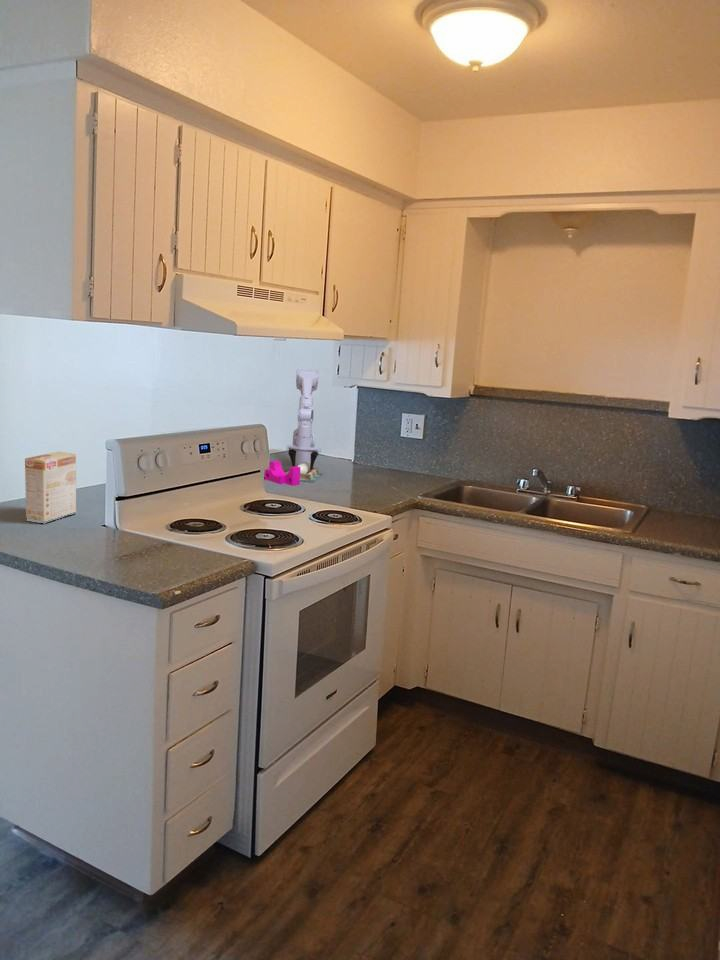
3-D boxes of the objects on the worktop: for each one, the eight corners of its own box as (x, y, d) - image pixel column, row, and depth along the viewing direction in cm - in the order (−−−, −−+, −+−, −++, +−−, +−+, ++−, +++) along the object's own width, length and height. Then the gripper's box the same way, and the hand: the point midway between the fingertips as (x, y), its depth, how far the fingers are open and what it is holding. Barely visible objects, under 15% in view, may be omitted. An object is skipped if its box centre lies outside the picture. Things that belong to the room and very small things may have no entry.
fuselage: (300, 473, 334) (299, 461, 334) (311, 473, 334) (310, 461, 333) (293, 478, 323) (293, 466, 322) (305, 478, 322) (304, 466, 321)
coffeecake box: (58, 511, 245) (58, 451, 241) (77, 514, 243) (77, 453, 239) (24, 521, 231) (23, 457, 227) (44, 524, 229) (43, 460, 225)
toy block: (264, 479, 317) (264, 461, 316) (275, 478, 322) (276, 460, 320) (287, 486, 307) (288, 468, 306) (299, 485, 312) (300, 467, 310)
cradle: (291, 471, 339) (292, 464, 338) (322, 474, 337) (323, 467, 336) (280, 479, 320) (280, 472, 319) (313, 482, 318) (313, 475, 317)
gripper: (285, 436, 322) (283, 468, 325) (319, 439, 320) (317, 471, 323) (289, 434, 329) (287, 465, 332) (322, 437, 327) (320, 468, 330)
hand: (302, 468), depth 328 cm, fingers open, 7 cm apart
